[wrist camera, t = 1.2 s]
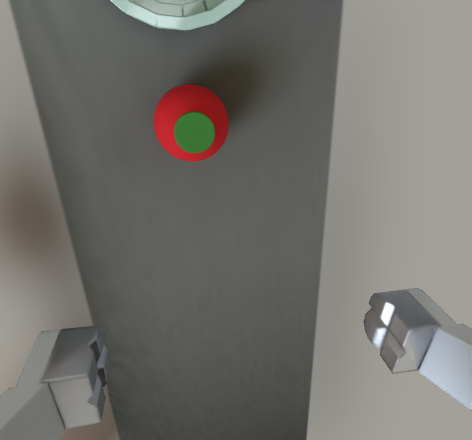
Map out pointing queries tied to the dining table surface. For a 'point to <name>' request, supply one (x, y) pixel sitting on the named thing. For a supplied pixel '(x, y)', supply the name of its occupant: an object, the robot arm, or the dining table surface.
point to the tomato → (191, 122)
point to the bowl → (177, 12)
